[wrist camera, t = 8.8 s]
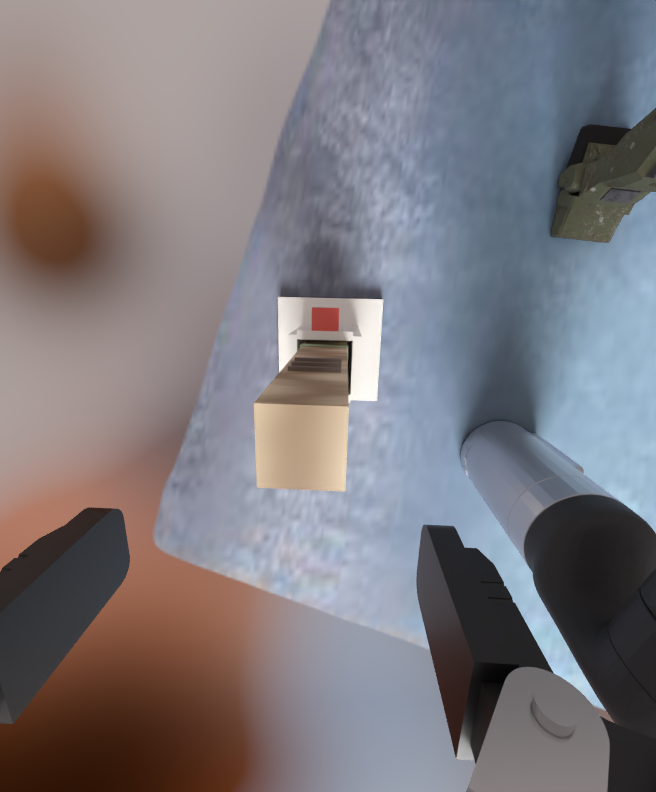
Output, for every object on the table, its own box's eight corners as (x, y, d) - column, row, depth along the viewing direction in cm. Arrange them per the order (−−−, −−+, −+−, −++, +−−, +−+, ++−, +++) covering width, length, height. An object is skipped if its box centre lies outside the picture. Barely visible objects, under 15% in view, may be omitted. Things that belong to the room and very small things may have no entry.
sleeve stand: (382, 299, 42) (395, 301, 31) (375, 397, 45) (385, 431, 34) (280, 296, 42) (257, 298, 31) (281, 394, 45) (261, 426, 34)
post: (347, 338, 35) (351, 401, 15) (346, 381, 37) (347, 493, 16) (305, 337, 36) (251, 397, 15) (305, 379, 37) (254, 489, 16)
